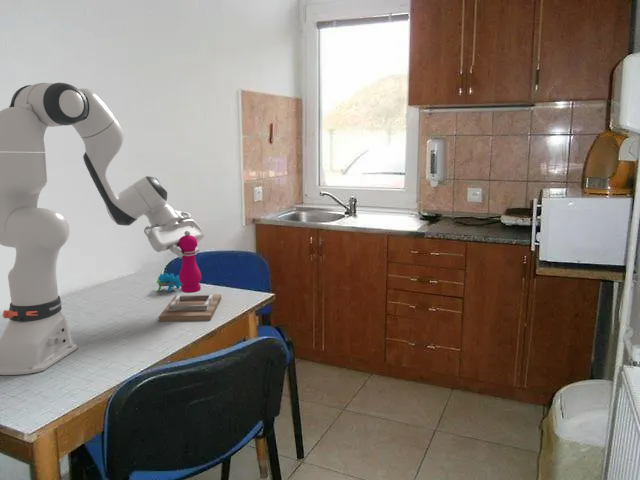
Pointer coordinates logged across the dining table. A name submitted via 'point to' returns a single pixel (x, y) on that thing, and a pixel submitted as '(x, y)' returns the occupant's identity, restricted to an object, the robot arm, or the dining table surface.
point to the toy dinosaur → (168, 281)
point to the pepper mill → (189, 265)
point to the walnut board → (190, 308)
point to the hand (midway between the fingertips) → (190, 254)
